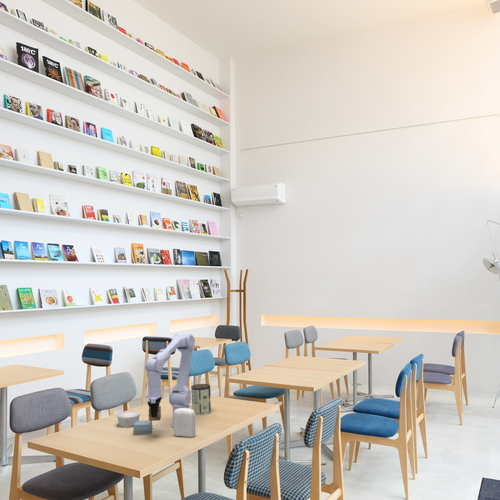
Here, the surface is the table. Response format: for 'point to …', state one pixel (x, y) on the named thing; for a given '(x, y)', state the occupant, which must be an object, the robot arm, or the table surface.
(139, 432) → the tower base
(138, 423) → the tower top
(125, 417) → the ramekin
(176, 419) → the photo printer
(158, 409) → the walnut cube
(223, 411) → the table surface
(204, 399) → the coffee can
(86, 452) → the table surface
